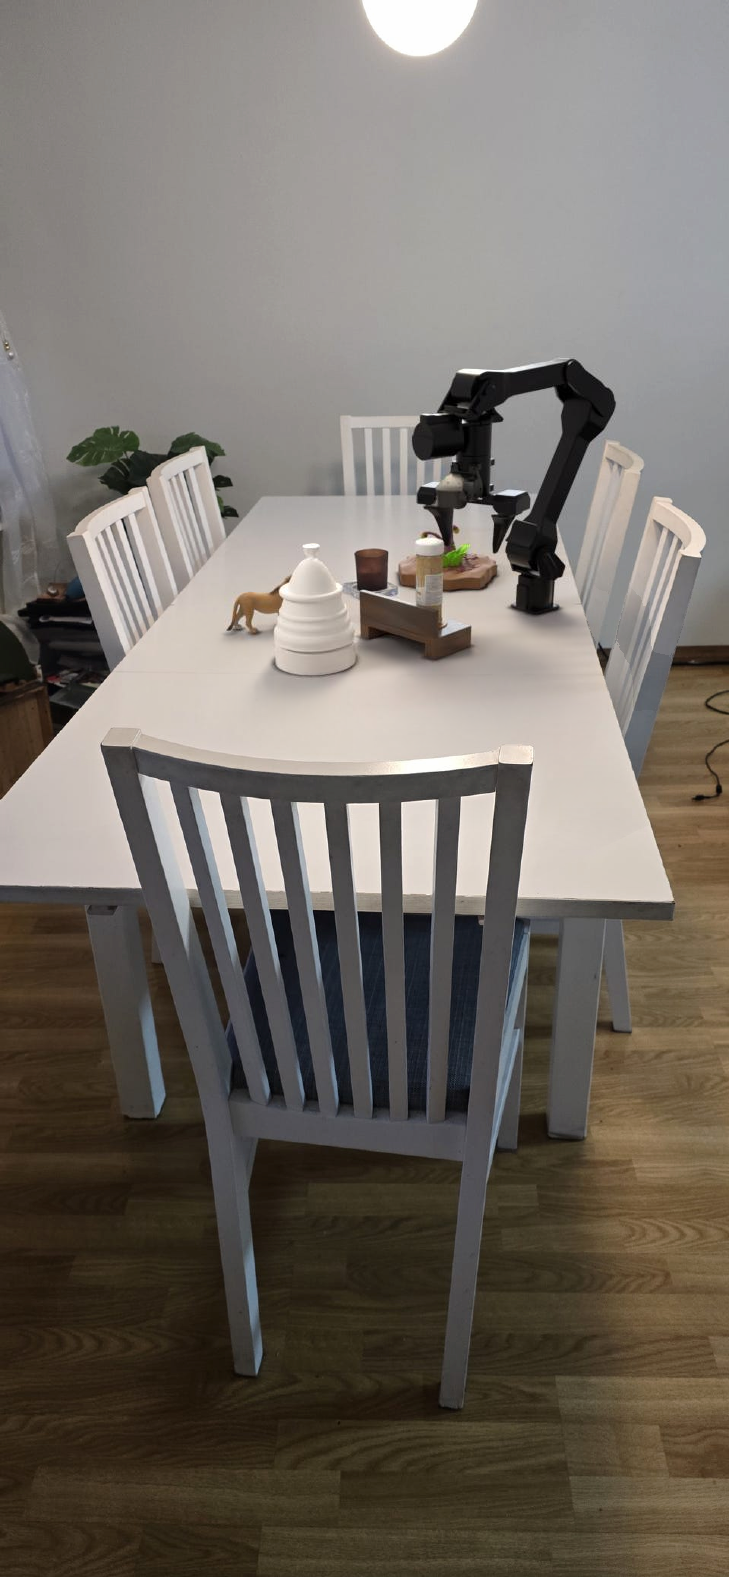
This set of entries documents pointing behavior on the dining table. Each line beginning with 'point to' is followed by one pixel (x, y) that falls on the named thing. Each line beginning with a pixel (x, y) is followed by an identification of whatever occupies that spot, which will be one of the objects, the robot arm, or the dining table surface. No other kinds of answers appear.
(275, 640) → the honey pot
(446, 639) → the miniature wooden bench
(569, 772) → the dining table surface
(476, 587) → the plant
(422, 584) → the sprinkles bottle
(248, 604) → the lion figurine
